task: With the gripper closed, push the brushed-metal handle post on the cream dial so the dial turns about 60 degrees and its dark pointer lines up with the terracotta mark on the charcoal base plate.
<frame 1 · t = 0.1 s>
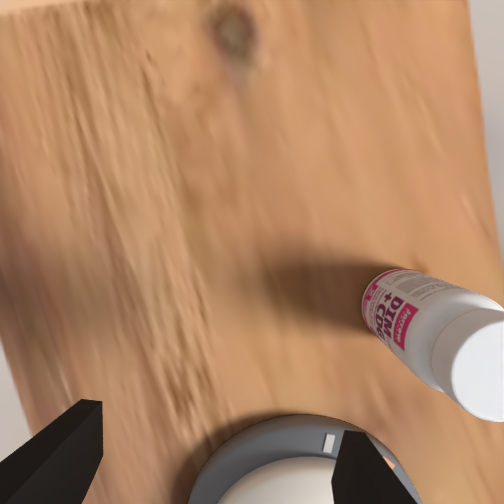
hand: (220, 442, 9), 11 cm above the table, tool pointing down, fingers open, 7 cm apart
pill bottle: (394, 303, 19), on the table
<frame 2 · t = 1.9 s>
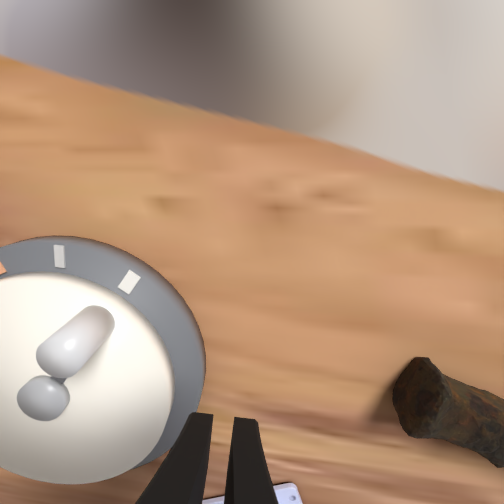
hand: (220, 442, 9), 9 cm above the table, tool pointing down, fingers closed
dial base: (81, 357, 19), on the table
dial: (37, 405, 15), point 4 cm above the table, hinge at 0.0°
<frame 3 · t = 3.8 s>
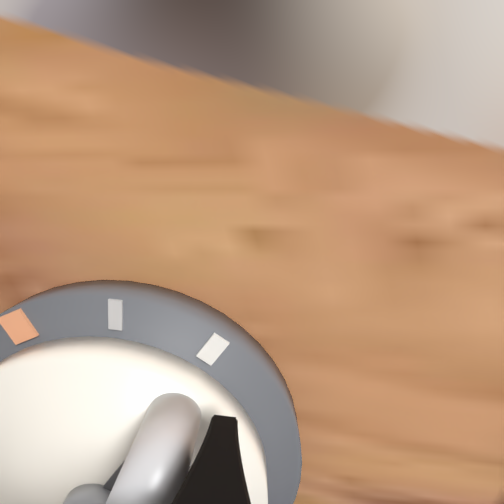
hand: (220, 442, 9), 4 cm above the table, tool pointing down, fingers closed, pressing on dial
dial base: (131, 434, 15), on the table
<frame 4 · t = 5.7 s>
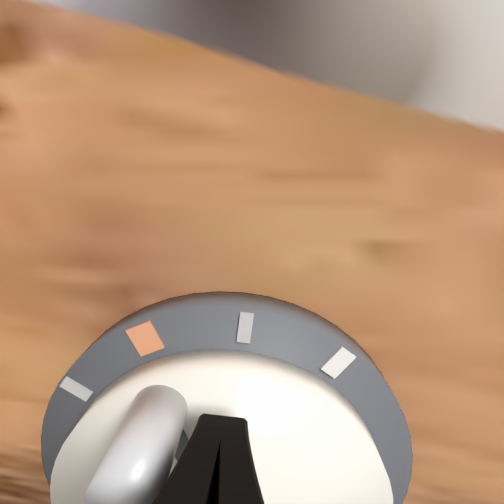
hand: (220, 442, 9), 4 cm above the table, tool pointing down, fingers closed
dial base: (228, 444, 15), on the table
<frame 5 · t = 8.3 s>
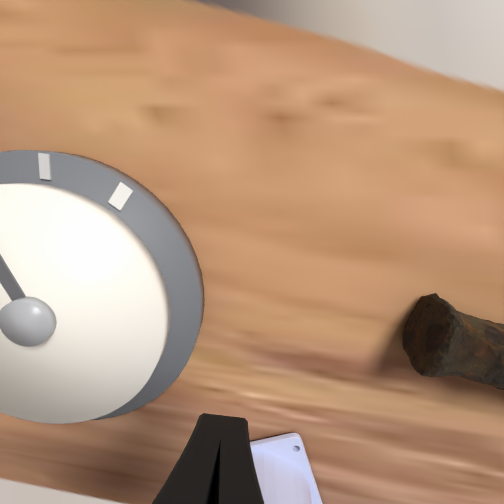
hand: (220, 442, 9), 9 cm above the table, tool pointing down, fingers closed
dial base: (70, 292, 18), on the table
dial: (20, 326, 14), point 4 cm above the table, hinge at 56.9°
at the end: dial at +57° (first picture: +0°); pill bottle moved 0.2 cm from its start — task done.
